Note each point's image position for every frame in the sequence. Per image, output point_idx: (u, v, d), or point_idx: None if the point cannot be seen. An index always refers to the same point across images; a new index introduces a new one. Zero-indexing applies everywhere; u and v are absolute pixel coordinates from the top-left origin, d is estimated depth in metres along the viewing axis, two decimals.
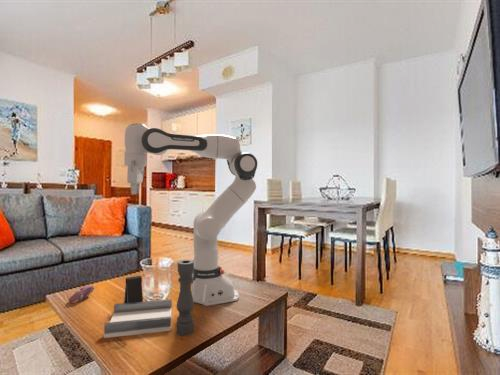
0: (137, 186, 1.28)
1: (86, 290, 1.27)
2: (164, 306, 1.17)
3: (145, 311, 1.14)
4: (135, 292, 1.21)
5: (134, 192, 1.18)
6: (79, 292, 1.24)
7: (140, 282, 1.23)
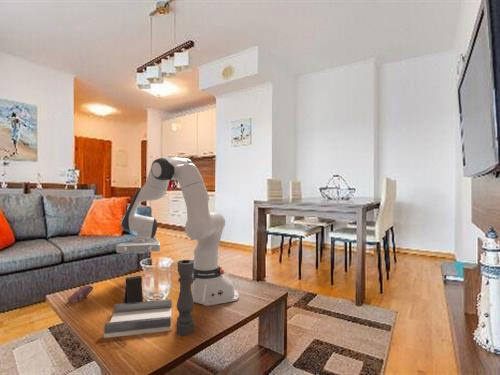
0: None
1: (85, 290, 1.27)
2: (164, 306, 1.17)
3: (145, 311, 1.14)
4: (135, 292, 1.21)
5: (125, 250, 1.33)
6: (78, 292, 1.24)
7: (140, 282, 1.23)
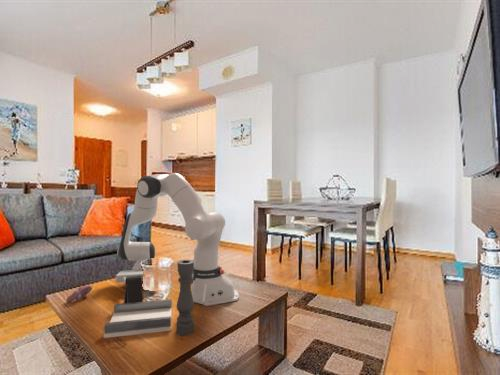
0: None
1: (84, 290, 1.27)
2: (164, 306, 1.17)
3: (145, 311, 1.14)
4: (135, 292, 1.21)
5: None
6: (77, 292, 1.24)
7: (140, 282, 1.23)
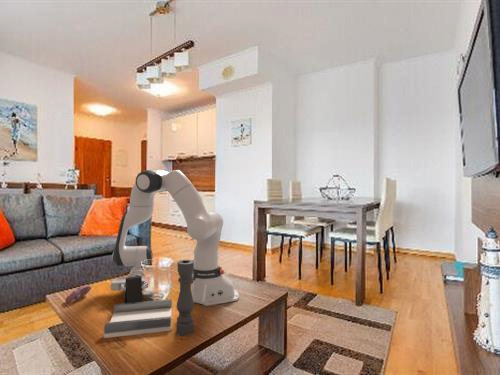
0: None
1: (83, 290, 1.27)
2: (164, 306, 1.17)
3: (145, 311, 1.14)
4: (135, 292, 1.21)
5: None
6: (76, 292, 1.24)
7: (140, 282, 1.23)
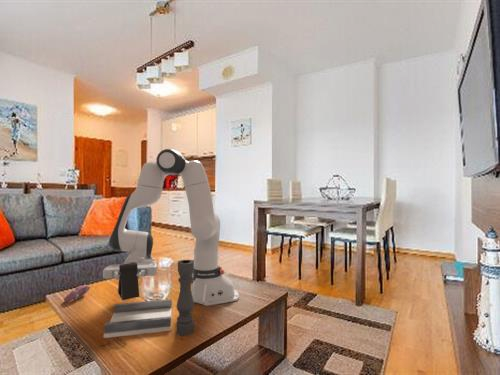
0: None
1: (81, 290, 1.27)
2: (164, 306, 1.17)
3: (145, 311, 1.14)
4: (130, 280, 1.08)
5: None
6: (74, 292, 1.24)
7: (136, 269, 1.10)
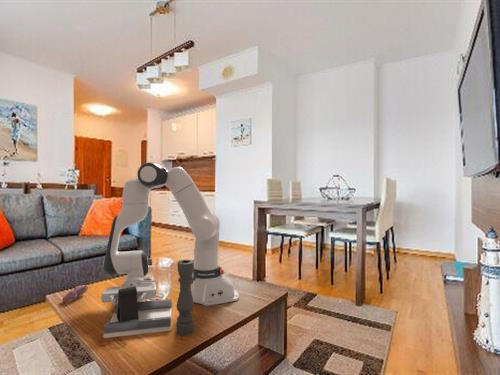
0: None
1: (80, 290, 1.27)
2: (164, 306, 1.17)
3: (145, 311, 1.14)
4: (129, 305, 1.05)
5: None
6: (73, 292, 1.24)
7: (135, 294, 1.07)
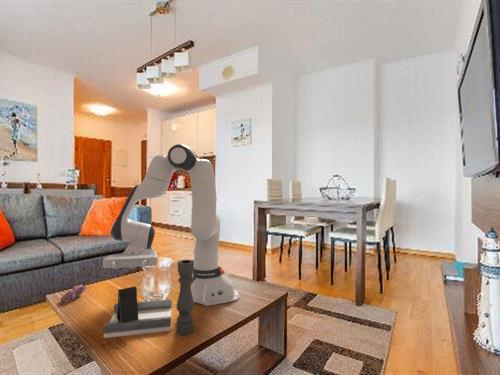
0: None
1: (78, 289, 1.27)
2: (164, 306, 1.17)
3: (145, 311, 1.14)
4: (129, 305, 1.05)
5: None
6: (71, 291, 1.24)
7: (135, 294, 1.07)
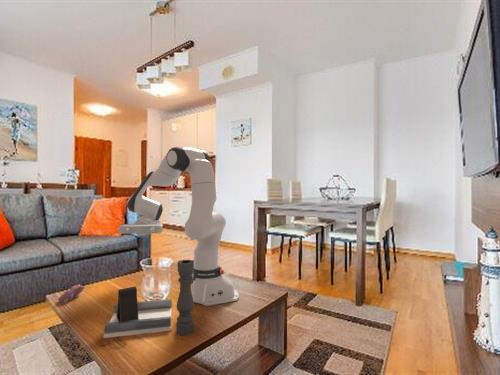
0: None
1: (76, 289, 1.28)
2: (164, 306, 1.17)
3: (145, 311, 1.14)
4: (129, 305, 1.05)
5: None
6: (69, 291, 1.24)
7: (135, 294, 1.07)
